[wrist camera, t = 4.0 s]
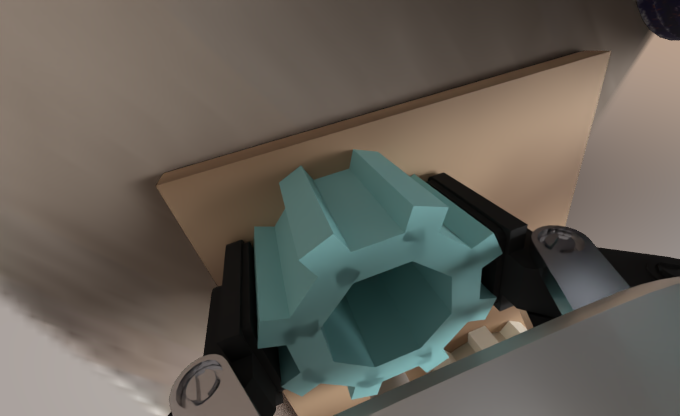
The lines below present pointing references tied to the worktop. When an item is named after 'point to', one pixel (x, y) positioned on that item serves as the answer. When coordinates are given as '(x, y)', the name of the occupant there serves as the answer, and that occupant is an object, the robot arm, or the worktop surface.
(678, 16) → the dark blue cylinder
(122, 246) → the worktop surface
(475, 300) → the teal gear
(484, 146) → the gear board
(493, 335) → the cream gear
